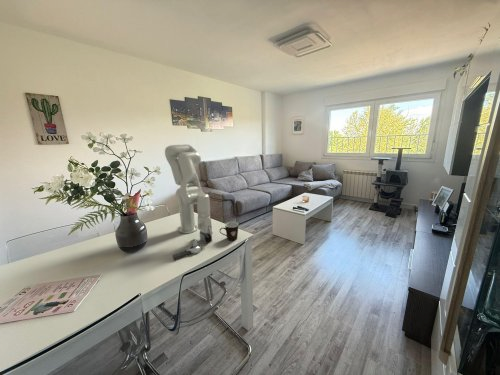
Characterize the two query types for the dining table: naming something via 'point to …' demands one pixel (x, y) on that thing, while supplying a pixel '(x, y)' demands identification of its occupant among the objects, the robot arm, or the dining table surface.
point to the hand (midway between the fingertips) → (206, 239)
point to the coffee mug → (231, 230)
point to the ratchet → (189, 250)
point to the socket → (203, 237)
